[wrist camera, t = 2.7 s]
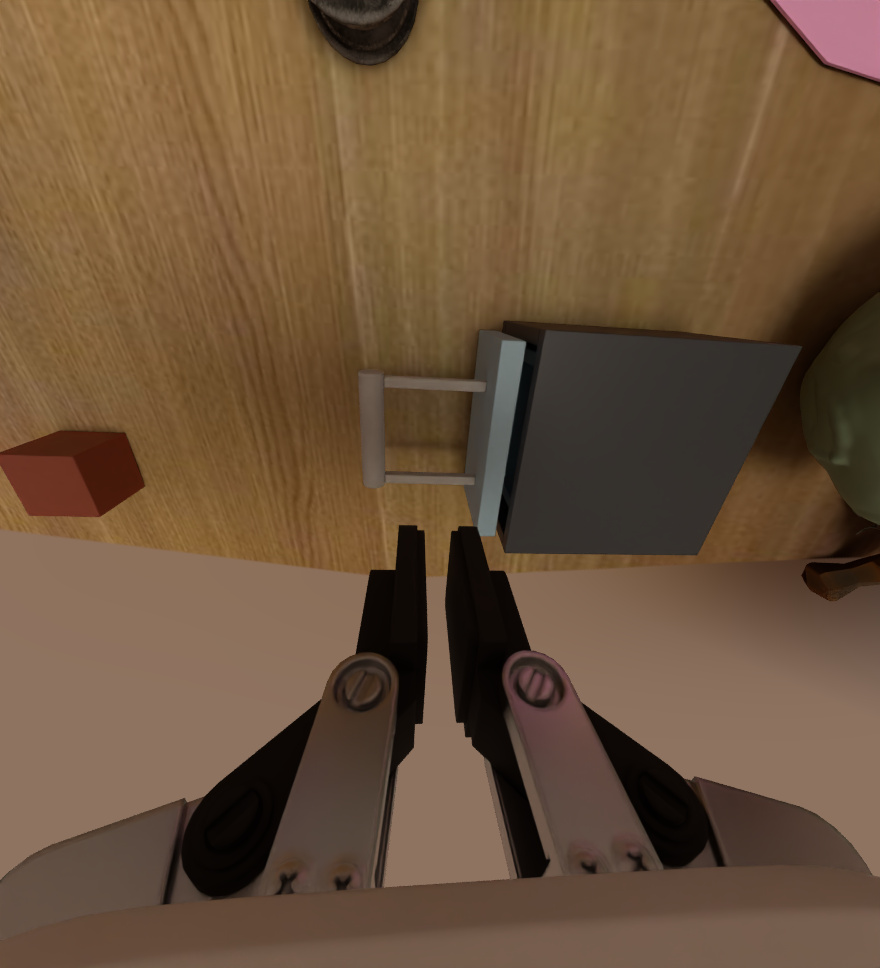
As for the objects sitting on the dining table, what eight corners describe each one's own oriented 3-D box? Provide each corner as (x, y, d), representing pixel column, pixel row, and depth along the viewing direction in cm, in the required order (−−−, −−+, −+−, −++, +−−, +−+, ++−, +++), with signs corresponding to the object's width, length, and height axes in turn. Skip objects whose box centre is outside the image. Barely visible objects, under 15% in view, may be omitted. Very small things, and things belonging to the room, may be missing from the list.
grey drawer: (371, 482, 27) (359, 534, 21) (366, 322, 22) (347, 330, 16) (601, 489, 29) (650, 539, 23) (648, 340, 23) (728, 353, 17)
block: (84, 485, 27) (28, 516, 23) (59, 430, 25) (-7, 454, 21) (145, 486, 27) (100, 517, 23) (125, 432, 25) (72, 456, 21)
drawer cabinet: (481, 487, 29) (504, 553, 21) (503, 320, 23) (545, 329, 16) (626, 491, 30) (697, 555, 22) (681, 332, 24) (803, 346, 17)
